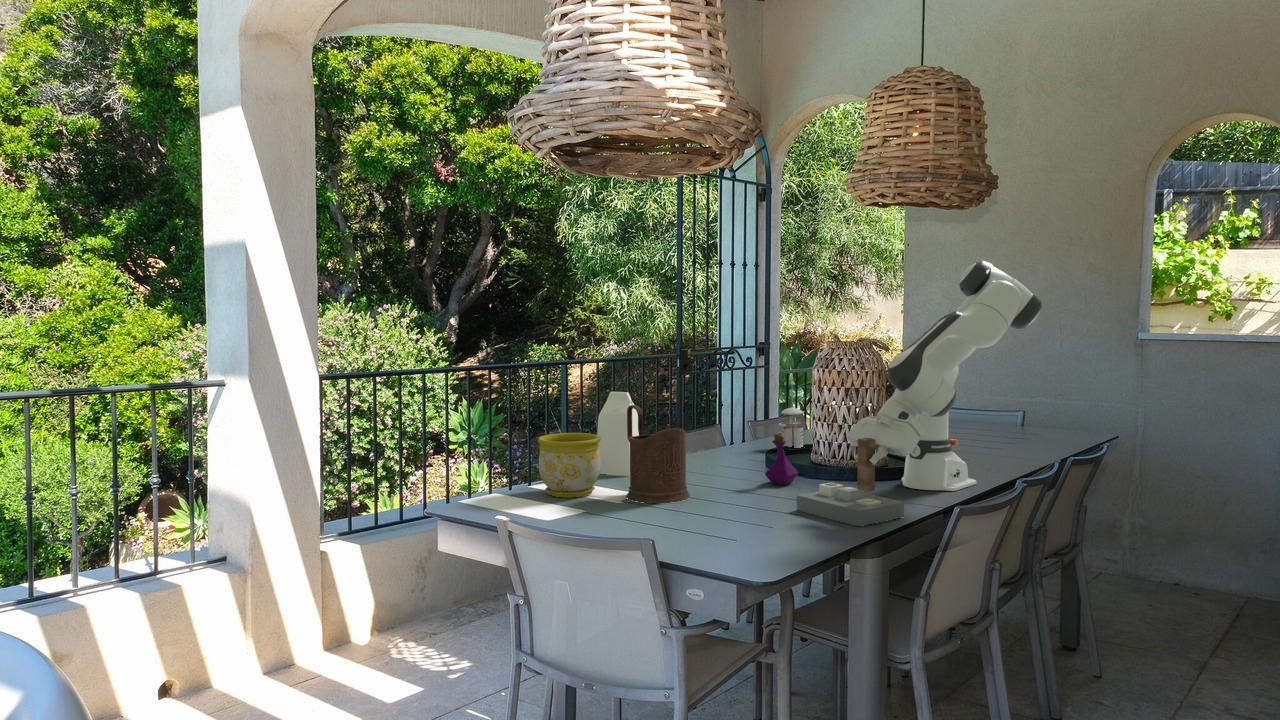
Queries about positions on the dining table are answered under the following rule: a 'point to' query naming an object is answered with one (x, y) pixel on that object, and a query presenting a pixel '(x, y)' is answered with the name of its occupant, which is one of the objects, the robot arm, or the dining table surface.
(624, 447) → the milk
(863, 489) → the brown wooden bar
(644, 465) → the cup holder
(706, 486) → the dining table surface
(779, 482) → the perfume bottle
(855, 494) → the key mid
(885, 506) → the keypad
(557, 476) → the flowerpot
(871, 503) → the key
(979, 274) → the robot arm
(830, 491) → the key
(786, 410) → the french press
